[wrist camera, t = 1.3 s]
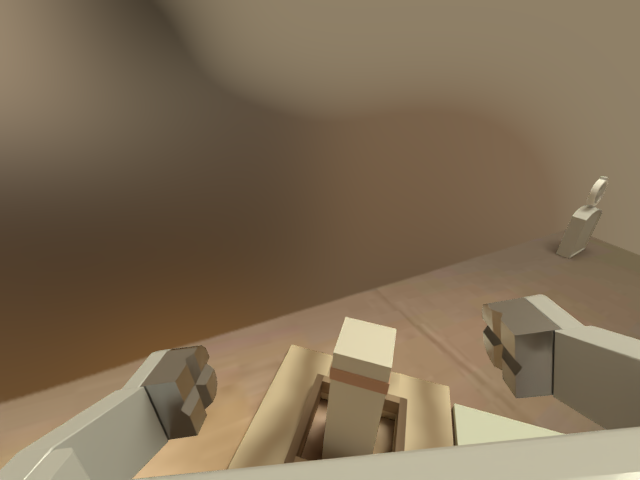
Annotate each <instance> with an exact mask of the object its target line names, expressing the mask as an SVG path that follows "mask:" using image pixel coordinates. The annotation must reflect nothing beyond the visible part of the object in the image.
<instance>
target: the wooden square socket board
mask: <svg viewBox="0 0 640 480" xmlns="http://www.w3.org/2000/svg"><path fill="white" fill-rule="evenodd" d="M332 361H333V356H332V355H329V354H325V353H321V352H317V351H314V350H310V349H306V348H303V347H299V346H295V345H291V347H290V349H289V351H288V353H287V355H286V357H285V359H284V361H283V363H282V365H281V367H280V368H279V370H278V372H277V374H276V376H275V378H274V380H273V382H272V384H271V386H270V388H269V390H268V392H267V394H266V395H265V397H264V399H263V401H262V403H261V405H260V407H259V409H258V411H257V413H256V415H255V417H254V419H253V421H252V423H251V424H250V426H249V428H248V430H247V432H246V434H245V436H244V438H243V440H242V442H241V444H240V446H239V448H238V450H237V451H236V453H235V455H234V457H233V459H232V461H231V463H230V465H229V467H228V469H236V468H246V467H256V466H266V465H275V464H285V463H294V462H304V461H309V460H307V459H304V458H301V455H302V452H303V449H304V446H305V443H306V440H307V437H308V434H309V431H310V428H311V425H312V422H313V419H314V416H315V413H316V410H317V407H318V404H319V401H320V398H322V399H326V400H328V397H329V388H330V379H329V375H330V367H331V364H332ZM381 416H382V417H385V418H389V419H392V420H395V426H394V437H393V448H392V452H399V451H409V450H418V449H428V448H438V447H448V446H453V433H452V420H451V407H450V393H449V387H448V386H444V385H440V384H437V383H433V382H429V381H425V380H422V379H418V378H414V377H410V376H407V375H403V374H399V373H396V372H392V371H391V376H390V385H389V389H388V393H387V395H386V396H385V400H384V405H383V409H382V414H381Z"/></svg>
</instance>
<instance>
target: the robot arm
mask: <svg viewBox="0 0 640 480" xmlns="http://www.w3.org/2000/svg"><path fill="white" fill-rule="evenodd" d="M482 318H483V319H484V321H485V322H486V323H487V327H486V328H485V330H484V331H483V336H484V344H485V348H486V351H487V354H488V356H489V358H490V360H491V362H492V363H493V365H494V366H495V367H497V368H499V369H501V370H502V374H503V380H504V381H505V383H506V384H507V386H508V387H509V389H510V390H511V391H512V393H513V394H514V396H515V397H516V398H525V397H536V396H548V395H553V397H555V398H556V399H558V400H560V401H561V402H563V403H564V404H566V405H568V406H569V407H571V408H572V409H574V410H576V411H577V412H579V413H581V414H582V415H584V416H585V417H587V418H589V419H590V420H592V421H594V422H595V423H597V424H598V425H600V426H602V427H603V428H605V429H606V430H601V431H592V432H582V433H573V434H564V435H555V436H545V437H535V438H526V439H516V440H506V441H496V442H487V443H477V444H467V445H457V446H448V447H438V448H428V449H418V450H409V451H399V452H389V453H379V454H370V455H361V456H351V457H342V458H332V459H323V460H313V461H304V462H294V463H285V464H275V465H266V466H256V467H246V468H236V469H227V470H217V471H207V472H198V473H188V474H178V475H169V476H159V477H149V478H140V479H132V478H133V477H134V476H135V475H136V474H137V473H138V472H139V471H140V470H141V469H142V468H143V467H144V466H145V465H146V464H147V463H148V462H149V461H150V460H151V459H152V458H153V457H154V456H155V455H156V453H157V452H158V451H159V450H160V449H161V448H162V447H163V446H164V445H165V444H166V443H167V442H168V440H170V439H177V438H183V437H190V436H197V435H198V433H199V431H200V429H201V427H202V425H203V422H204V420H205V418H206V416H207V414H206V411H205V409H206V408H207V407H208V406H209V405H210V404H211V403H212V402H213V400H214V398H215V396H216V391H217V377H216V374H215V371H214V369H213V368H212V367H211V366H209V365H208V364H207V362H208V359H209V354H208V352H207V350H206V348H205V347H204V346H202V345H200V346H192V347H184V348H176V349H171V350H170V349H168V350H162V351H156V352H154V353H151V355H150V356H149V357H148V358H147V359H146V361H145V362H144V363H143V364H142V365H141V366H140V368H139V369H138V370H137V371H136V372H135V374H134V375H133V376H132V377H131V378H130V380H129V381H128V382H127V383H126V384H125V386H124V387H123V388H122V389H121V390H116V391H114V392H113V393H111V394H109V395H108V396H106V397H105V398H103V399H102V400H100V401H98V402H97V403H95V404H94V405H92V406H90V407H89V408H87V409H86V410H84V411H83V412H81V413H79V414H78V415H76V416H75V417H73V418H71V419H70V420H68V421H67V422H65V423H64V424H62V425H60V426H59V427H57V428H56V429H54V430H52V431H51V432H49V433H48V434H46V435H45V436H43V437H41V438H40V439H38V440H37V441H35V442H33V443H32V444H30V445H29V446H27V447H26V448H24V449H22V450H21V451H19V452H18V453H17V454H16V455H15V456H14V457H13V458H12V459H11V460H10V461H9V462H8V463H7V464H6V465H5V466H4V467H3V468H2V469H1V470H0V480H640V340H638V339H634V338H631V337H628V336H624V335H621V334H618V333H615V332H611V331H608V330H605V329H601V328H598V327H595V326H584V325H582V324H581V323H580V322H579V321H577V320H576V319H575V318H573V317H572V316H571V315H570V314H568V313H567V312H566V311H564V310H563V309H562V308H561V307H559V306H558V305H557V304H556V303H554V302H553V301H552V300H550V299H549V298H548V297H547V296H545V295H541V294H539V295H533V296H528V297H523V298H518V299H512V300H506V301H500V302H494V303H489V304H483V307H482Z"/></svg>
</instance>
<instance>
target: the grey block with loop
mask: <svg viewBox="0 0 640 480" xmlns="http://www.w3.org/2000/svg"><path fill="white" fill-rule="evenodd" d="M607 186H608V177H604V176H601V177H600V179H599V180H598V181H597V182H596V183H595V185H594V186H593V187H592V189H591V191H590V194H589V196H588V199H587V204H588V205H587V206H582V207H581V208H579V209H578V210H577V211H576V212H575V213H574V214H573V216H572V218H571V220H570V222H569V224H568V227H567V229H566V231H565V234H564V236H563V238H562V240H561V243H560V245H559V247H558V250H557V252H556V254H558V255H561V256H563V257H566V258H568V259H569V258H571V257H573V256H574V255H576V254H578V253H579V252H581V251H583V250H584V249H585V247H586V245H587V243H588V241H589V239H590V237H591V235H592V233H593V231H594V229H595V226H596V224H597V222H598V220H599V218H600V216H601V214H602V210H600V209H597V208H595V206H596V204H597V203H598V202H599V201H600V200H601V198H602V196H603V195H604V193H605V191H606V189H607Z"/></svg>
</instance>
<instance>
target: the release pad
mask: <svg viewBox="0 0 640 480" xmlns="http://www.w3.org/2000/svg"><path fill="white" fill-rule="evenodd" d="M453 420H454V432H455V445H456V446H457V445H467V444H477V443H487V442H496V441H506V440H516V439H526V438H535V437H545V436H555V435H564V434H563V433H559V432H555V431H552V430H548V429H545V428H541V427H537V426H534V425H530V424H527V423H523V422H519V421H516V420H512V419H509V418H505V417H502V416H498V415H494V414H491V413H487V412H484V411H480V410H476V409H473V408H469V407H466V406H462V405H458V404H455V403H454V405H453Z"/></svg>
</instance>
